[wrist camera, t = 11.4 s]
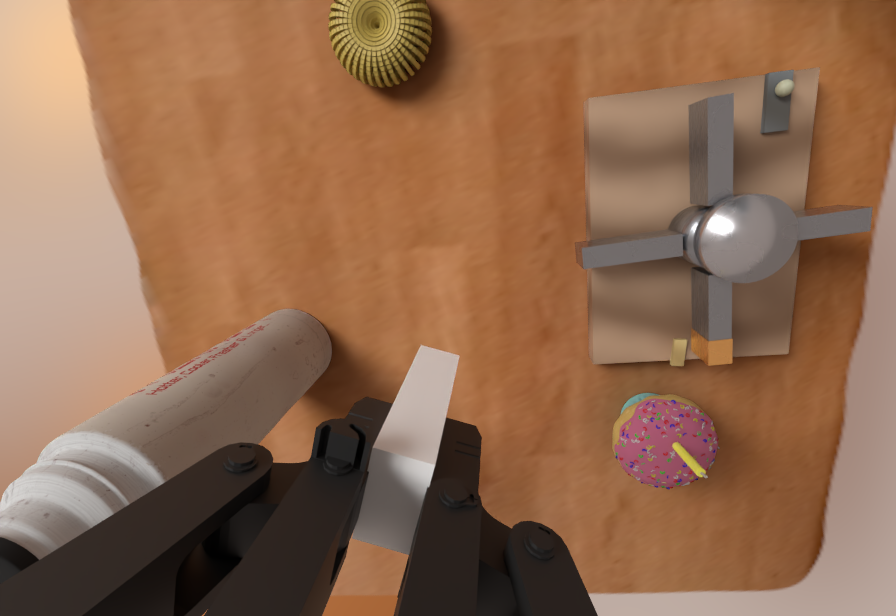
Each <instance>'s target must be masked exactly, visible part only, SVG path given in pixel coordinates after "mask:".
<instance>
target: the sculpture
mask: <svg viewBox="0 0 896 616" xmlns="http://www.w3.org/2000/svg"><path fill="white" fill-rule="evenodd" d="M334 1H335V2H336V3H332V4H331V7H330V9H331V11H332V12H330V14H329V20H330V22H329V24H328V26H329V30H330V33H329V36H330V40H331V41H332V47H333V50H334V51H335V55H336V57H337V59H338V60H340V63H341V65H342V66H343V67H344V68H345V69H347V70H346V71H347V72H348V73H349V74H350V75H353V77H354V78H355V79H357V80H360V81H362V83H365V84H368V83H369V84H370V85H371V86H374V87H375V86H376V87H377V86H379V87H385V86H386V85H387V86H388V87H391V86H392V85H393V83H395V84H396V85H398V84H401V78H402V79H403V80H404V81H406V80H408V77H407V74H406V72H405V69H404V67H405V68H406V70H407V71H408V72H409V74H410V75H411V76H413V75H414V74H415V73H414V72H413V70H412V69H411V67H409V65H408V63H407V62H406V60H407V61H408V62H409V63H410V64H411V65H412V66H414V67H415V68H416V69H417V70H419V68H420V67H421V66H420V65H419V63H418V62H417V61H416V60H419V61H420V62H422V63H423V62H424V61H425V59H426V58H425V56H424V55H423V54H428V51H429V48H428V46H429V45H430V44H431V37H430V35H432V27H431V23H432V22H431V17H430V16H429V15H430V12H429V8H428V6H426V4H427V3H426V0H334ZM394 1H395V2H394ZM413 1H414V3H412V2H413ZM420 2H421V4H420ZM404 5H405V6H404ZM347 6H348V7H349V8H348V7H347ZM416 9H418V10H417V11H416ZM339 10H340V11H343V12H339ZM407 11H408V12H407ZM415 11H416V12H415ZM345 12H347V13H348V14H347V13H345ZM423 12H424V13H423ZM338 17H339V18H341V19H336V18H338ZM418 18H419V20H417V19H418ZM409 19H410V20H409ZM424 21H426V23H424ZM334 26H335V27H336V26H338V27H336V28H335V27H334ZM415 27H417V28H415ZM425 30H426V32H423V31H425ZM411 34H415V35H411ZM336 35H337V36H336ZM335 36H336V37H335ZM344 38H345V39H344ZM342 39H343V40H342ZM421 39H424V40H425V41H420V40H421ZM401 43H402V44H401ZM337 45H338V47H337ZM413 45H415V46H417V45H418V46H419V47H421V48H418V47H417V48H416V47H415V46H413ZM345 46H346V47H345ZM344 47H345V48H344ZM407 48H408V49H407ZM409 49H410V50H412V51H410V50H409ZM349 52H350V53H349ZM356 52H357V53H356ZM341 54H342V55H341ZM360 57H361V58H360ZM403 57H404V58H405V59H406V60H404V58H403ZM415 59H416V60H415ZM353 60H354V61H353ZM365 60H366V61H365ZM352 61H353V62H352ZM402 64H403V66H404V67H403V66H402ZM359 65H360V66H359ZM392 65H393V66H392ZM358 66H359V68H358ZM366 67H367V70H366V71H365V69H366ZM393 67H394V71H395V73H394V71H393ZM378 69H379V70H378ZM372 70H373V72H372ZM388 71H389V78H388ZM395 75H396V76H395ZM400 76H401V78H400ZM366 77H367V78H366ZM374 77H375V80H374ZM382 77H383V79H382V81H381V78H382Z"/></svg>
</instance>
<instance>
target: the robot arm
mask: <svg viewBox="0 0 896 616" xmlns="http://www.w3.org/2000/svg"><path fill="white" fill-rule="evenodd" d="M458 361H459V355H456V354H452V353H448V352H445V351H441V350H437V349H434V348H430V347H426V346H423V345H421V346H420V348H419V350H418V352H417V355H416V357H415V359H414V361H413V363H412V365H411V367H410V369H409V371H408V374H407V376H406V378H405V380H404V382H403V384H402V386H401V388H400V390H399V393H398V395H397V397H396V399H395V401H394V403H393V404H391V403H387V402H384V401H380V400H377V399H373V398H369V397H365V398H363V399H362V400H360V401H358V402H356V403H355V404H354V406H353V407H352V409H351V410H350V412H349V414H348V415H347V416H346V418H345V419H331V420H328V421H325V422H322V423H321V424H320V425H319V426H318V427H316V431H315V437H314V443H313V449H312V454H311V458H310V459H309V461H306V462H301V463H273V457H272V455H271V452H270V451H269V450H267V449H266V448H265V447H263V446H261V445H258V444H254V443H243V442H240V443H235V444H229V445H227V446H225V447H222V448H220V449H218V450H216V451H215V452H213V453H211V454H210V455H208V456H207V457H205V458H203V459H202V460H200V461H198V462H197V463H195V464H194V465H192V466H190V467H189V468H187V469H186V470H184V471H182V472H181V473H179V474H177V475H176V476H174V477H173V478H171V479H169V480H168V481H166V482H165V483H163V484H161V485H160V486H158V487H156V488H155V489H153V490H152V491H150V492H148V493H147V494H145V495H144V496H142V497H140V498H139V499H137V500H135V501H134V502H132V503H131V504H129V505H127V506H126V507H124V508H123V509H121V510H119V511H118V512H116V513H114V514H113V515H111V516H110V517H108V518H106V519H105V520H103V521H102V522H100V523H98V524H97V525H95V526H93V527H92V528H90V529H89V530H87V531H85V532H84V533H82V534H81V535H79V536H77V537H76V538H74V539H72V540H71V541H69V542H68V543H66V544H64V545H63V546H61V547H60V548H58V549H56V550H55V551H53V552H51V553H50V554H48V555H47V556H45V557H43V558H42V559H40V560H39V561H37V562H35V563H34V564H32V565H30V566H29V567H27V568H26V569H24V570H22V571H21V572H19V573H18V574H16V575H14V576H13V577H11V578H9V579H8V580H6V581H5V582H3V583H1V584H0V616H202V615H203V614H204V613H205V612H206V610H207V612H206V613H205V615H204V616H322V614H323V612H324V609H325V607H326V604H327V602H328V599H329V597H330V595H331V592H332V590H333V587H334V585H335V582H336V580H337V577H338V575H339V572H340V570H341V567H342V565H343V562H344V560H345V557H346V553H347V549H348V544H349V540H350V538H351V535H352V533H353V537H352V538H353V539H356V540H360V541H363V542H367V543H370V544H373V545H377V546H380V547H384V548H387V549H391V550H394V551H397V552H401V553H404V554H408V555H409V557H408V561H407V565H406V568H405V572H404V575H403V579H402V583H401V586H400V590H399V593H398V600H397V604H396V608H395V613H394V616H598V615H597V613H596V611H595V608H594V606H593V604H592V602H591V599H590V597H589V595H588V593H587V590H586V588H585V586H584V584H583V581H582V579H581V577H580V575H579V572H578V570H577V568H576V566H575V563H574V561H573V559H572V557H571V555H570V552H569V550H568V548H567V546H566V545H565V543H564V542H563V540H562V538H561V537H560V536H559V535H557V534H556V533H555V532H554V531H553V530H552V529H550V528H548V527H546V526H545V525H543V524H540V523H537V522H533V521H523V522H519V523H518V524H516V525H514V526H513V528H512V529H511V528H509V527H508V526H506V525H504V524H502V523H501V522H499V521H497V520H496V519H495V518H493V517H492V516H491V515H490V514H489V513H488V512H487V511H486V510H485V509H484V508H483V506H482V503H481V498H480V496H479V495H478V486H479V470H480V455H481V440H482V437H481V435H480V433H479V431H478V429H477V427H476V426H474V425H471V424H467V423H463V422H460V421H456V420H453V419H449V418H446V415H447V410H448V406H449V401H450V397H451V392H452V388H453V383H454V379H455V374H456V370H457V365H458ZM353 531H354V532H353Z"/></svg>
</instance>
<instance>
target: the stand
mask: <svg viewBox="0 0 896 616" xmlns="http://www.w3.org/2000/svg"><path fill="white" fill-rule="evenodd" d="M819 71H820V67H819V68H811V69H804V70H796V71H794V70H788V71H780V72H773V73H768V74H765V75H759V76H751V77H744V78H736V79H728V80H721V81H713V82H706V83H698V84H691V85H683V86H676V87H668V88H661V89H653V90H646V91H638V92H631V93H623V94H616V95H608V96H601V97H593V98H588V99H587V100H586V101H585V102H584V147H585V194H586V240H587V241H590V240H597V239H604V238H611V237H618V236H625V235H632V234H639V233H646V232H653V231H660V230H668V227H669V225H670V223H671V221H672V220H673V218H674V217H675V216H676V215H677V214H678V213H679V212H681V211H682V210H684V209H686V208H688V207H691V206H695V205H696V204H690V175H689V111H688V105H690V104H693V103H695V102H698V101H700V100H703V99H705V98H708V97H714V96H719V95H725V94H730V93H734V136H733V195H736V194H744V193H750V194H766V195H771V196H774V197H776V198H778V199H780V200H782V201H783V202H785V203H786V204H787V205H788V206H789V207H790V208H791V209H792V211H800V210H804V207H805V198H806V189H807V180H808V171H809V162H810V153H811V144H812V135H813V126H814V117H815V107H816V98H817V89H818V80H819ZM711 206H713V205H711ZM800 244H801V240H799V241H797V245H796V247H795V250H794V252H793V254H792V255H791V257H790V258H789V260H788V261H787V262H786V263H785V264H784V266H783V267H781V268H780V269H779V270H778V271H777V272H775V273H774V274H772V275H771V276H769V277H767V278H765V279H762V280H759V281H756V282H751V283H734V282H732V339H733V351H732V357H742V356H761V355H780V354H788V353H789V344H790V335H791V326H792V317H793V307H794V298H795V289H796V280H797V271H798V262H799V253H800ZM693 267H700V266H698V265H695V264H693V263H690V262H688V261H686V260H683V259H681V258H679V257H671V258H664V259H656V260H649V261H641V262H634V263H627V264H619V265H612V266H604V267H597V268H589V269H587V287H588V333H589V357H590V359H591V361H592V363H593V364H610V363H629V362H648V361H667V360H670V365H671V366H684V360H686V359H700V358H699V357H698V356H697V355H696V354H695V353H693V352H692V351H691V328H692V303H691V268H693Z"/></svg>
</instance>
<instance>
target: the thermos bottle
mask: <svg viewBox="0 0 896 616" xmlns="http://www.w3.org/2000/svg"><path fill="white" fill-rule="evenodd" d="M331 355H332V347H331V341H330V338H329V335H328V333H327V332H326V330H325V328H324V327H323V326H322V324H321V323H320V322H319V321H318V320H316V319H315V318H314V317H312V316H311V315H309V314H307V313H305V312H303V311H300V310H295V309H283V310H278V311H276V312H273V313H271V314H269V315H268V316H266V317H264V318H262V319H261V320H259V321H257V322H255V323H254V324H252V325H250V326H249V327H247V328H245V329H243V330H242V331H240V332H238V333H237V334H235V335H233V336H231V337H230V338H228V339H226V340H224V341H223V342H221V343H219V344H218V345H216V346H214V347H212V348H211V349H209V350H207V351H206V352H204V353H202V354H200V355H199V356H197V357H195V358H193V359H192V360H190V361H188V362H187V363H185V364H183V365H181V366H180V367H178V368H176V369H174V370H173V371H171V372H169V373H168V374H166V375H164V376H162V377H161V378H159V379H157V380H155V381H154V382H152V383H150V384H149V385H147V386H145V387H143V388H142V389H140V390H138V391H137V392H135V393H133V394H132V395H130V396H128V397H126V398H125V399H123V400H121V401H119V402H118V403H116V404H114V405H112V406H111V407H109V408H107V409H106V410H104V411H102V412H100V413H99V414H97V415H95V416H93V417H92V418H90V419H88V420H87V421H85V422H83V423H81V424H80V425H78V426H76V427H75V428H73V429H71V430H69V431H68V432H66V433H64V434H62V435H61V436H59V437H58V438H56V439H55V440H53V441H52V442H51V443H49V444H48V445H47V446H46V447H45V449H44V450H43V451H42V453H41V454H40V456H39V458H38V461H37V463H36V464H34V465H32V466H31V467H30V468H28V469H27V470H26V471H25V472H24V473H23V475H22V476H21V477H20V478H18V479H17V480H15V481H14V482H13V483H11V484H10V485H9V487H8V488H7V489H6V491H5V492H4V494H3V497H2V500H1V502H0V584H1V583H3V582H5V581H6V580H8V579H9V578H11V577H13V576H14V575H16V574H18V573H19V572H21V571H22V570H24V569H26V568H27V567H29V566H30V565H32V564H34V563H35V562H37V561H39V560H40V559H42V558H43V557H45V556H47V555H48V554H50V553H51V552H53V551H55V550H56V549H58V548H60V547H61V546H63V545H64V544H66V543H68V542H69V541H71V540H72V539H74V538H76V537H77V536H79V535H81V534H82V533H84V532H85V531H87V530H89V529H90V528H92V527H93V526H95V525H97V524H98V523H100V522H102V521H103V520H105V519H106V518H108V517H110V516H111V515H113V514H114V513H116V512H118V511H119V510H121V509H123V508H124V507H126V506H127V505H129V504H131V503H132V502H134V501H135V500H137V499H139V498H140V497H142V496H144V495H145V494H147V493H148V492H150V491H152V490H153V489H155V488H156V487H158V486H160V485H161V484H163V483H165V482H166V481H168V480H169V479H171V478H173V477H174V476H176V475H177V474H179V473H181V472H182V471H184V470H186V469H187V468H189V467H190V466H192V465H194V464H195V463H197V462H198V461H200V460H202V459H203V458H205V457H207V456H208V455H210V454H211V453H213V452H215V451H216V450H218V449H220V448H222V447H225V446H227V445H229V444H235V443H240V442H243V443H254V444H259V443H260V442H261V441H262V439H263V438H264V437H265V436H266V435H267V434H268V433H269V432H270V431H271V430H272V429H273V427H274V426H275V425H276V424H277V423H278V422H279V420H280V419H281V418H282V417H283V416H284V415H285V413H286V412H287V411H288V410H289V409H290V408H291V407H292V406H293V405H294V404H295V403H296V402H297V401H298V400H299V399H300V398H301V397H302V396H303V395H304V394H305V392H306V391H307V390H308V389H309V388H310V387H311V386H312V385H313V384H314V383H315V382H316V380H317V379H318V378H319V377H320V376H321V375H322V374H323V373H324V372H325V370H326V369H327V367H328V366H329V363H330V360H331Z"/></svg>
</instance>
